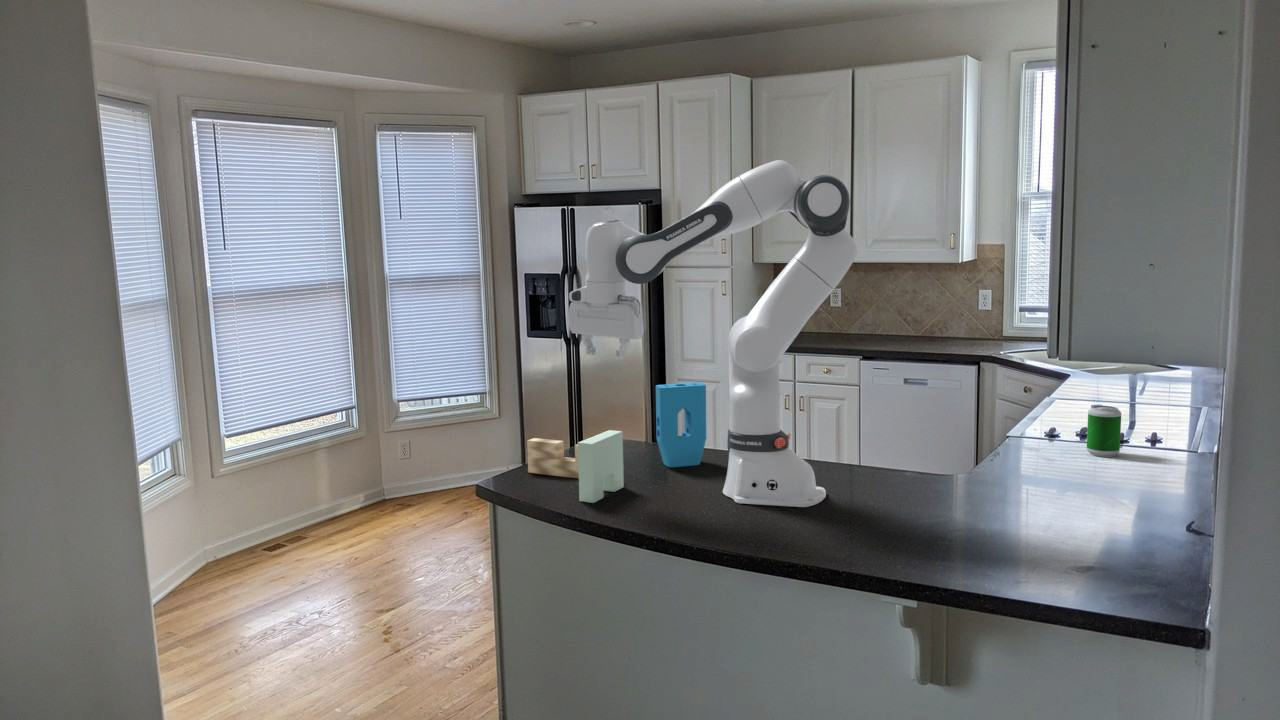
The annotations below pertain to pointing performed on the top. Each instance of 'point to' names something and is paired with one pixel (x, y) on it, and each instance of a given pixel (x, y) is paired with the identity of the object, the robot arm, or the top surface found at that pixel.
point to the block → (667, 408)
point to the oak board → (551, 458)
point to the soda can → (1103, 431)
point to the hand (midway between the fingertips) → (605, 356)
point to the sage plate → (600, 465)
